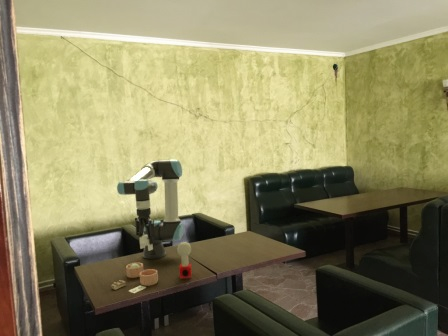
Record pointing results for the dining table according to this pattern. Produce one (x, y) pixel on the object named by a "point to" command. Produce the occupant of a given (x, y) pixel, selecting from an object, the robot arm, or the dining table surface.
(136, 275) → the cup
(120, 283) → the cradle
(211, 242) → the dining table surface
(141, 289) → the card
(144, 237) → the ball grey
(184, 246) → the toy
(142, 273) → the cup
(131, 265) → the ball sage
